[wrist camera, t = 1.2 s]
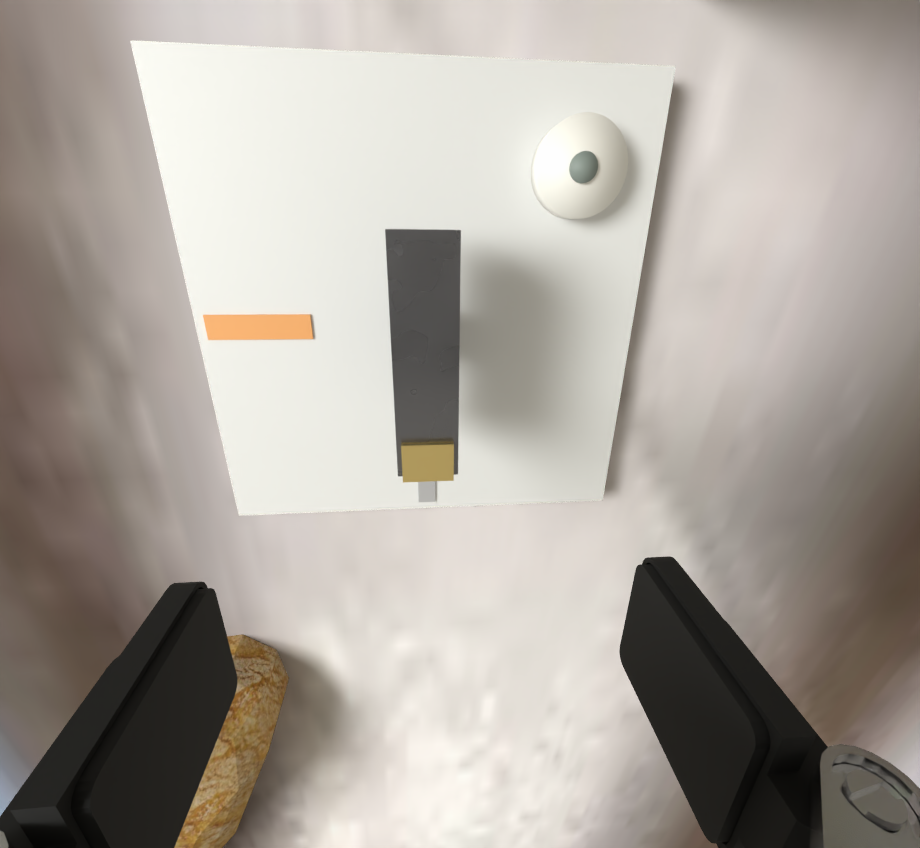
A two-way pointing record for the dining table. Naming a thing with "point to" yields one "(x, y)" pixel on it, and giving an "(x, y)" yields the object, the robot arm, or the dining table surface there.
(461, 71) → the level plate
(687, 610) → the robot arm
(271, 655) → the bread
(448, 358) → the grey block with gold
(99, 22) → the dining table surface
